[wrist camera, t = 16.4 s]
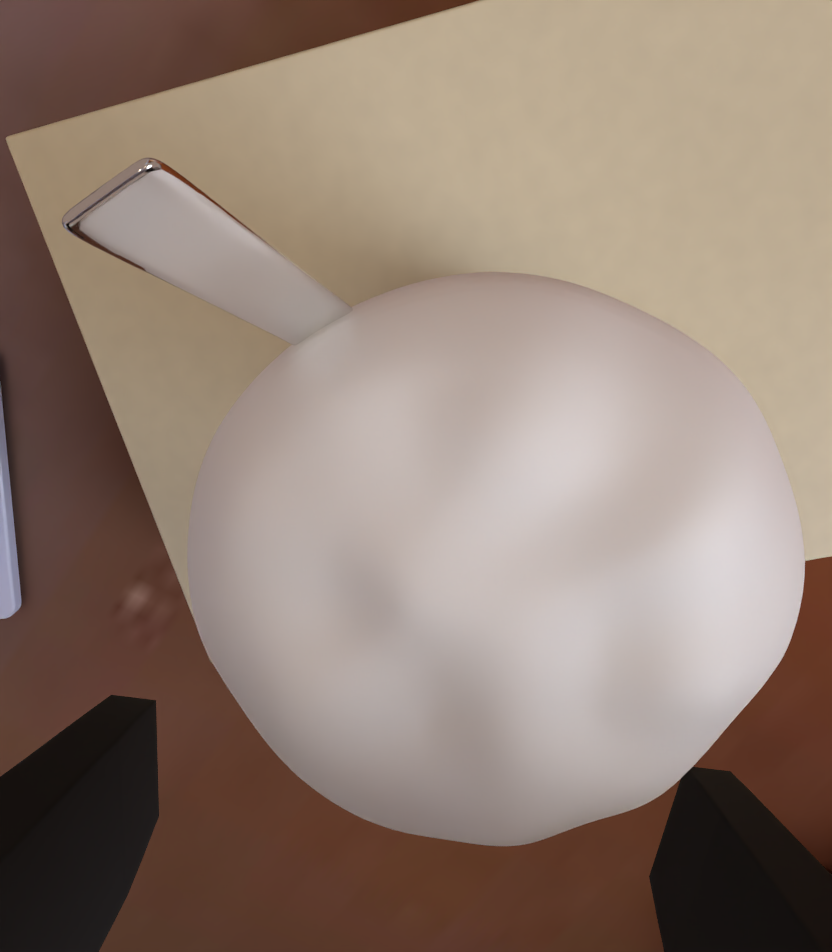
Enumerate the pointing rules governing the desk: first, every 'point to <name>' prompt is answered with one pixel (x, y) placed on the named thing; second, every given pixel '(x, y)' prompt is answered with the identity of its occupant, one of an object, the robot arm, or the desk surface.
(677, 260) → the lunchbox lid
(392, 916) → the desk surface
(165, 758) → the desk surface
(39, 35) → the desk surface
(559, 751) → the milkshake
